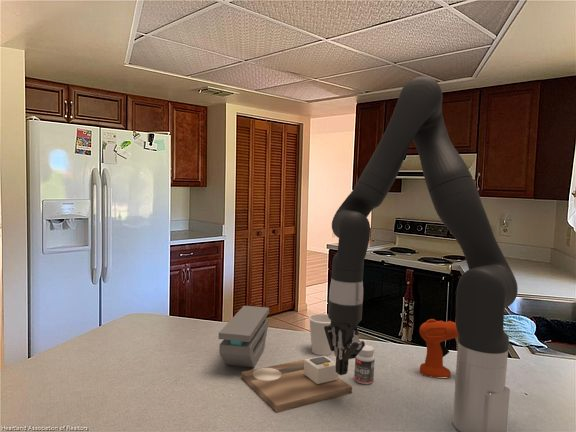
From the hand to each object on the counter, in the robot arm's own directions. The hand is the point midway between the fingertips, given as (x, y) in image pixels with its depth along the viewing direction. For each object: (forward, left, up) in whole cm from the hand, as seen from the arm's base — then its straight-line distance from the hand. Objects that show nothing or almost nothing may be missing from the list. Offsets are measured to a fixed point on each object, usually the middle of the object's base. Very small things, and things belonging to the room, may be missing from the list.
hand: (341, 373), depth 99 cm
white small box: (+7, 0, -4) cm, 8 cm away
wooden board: (+9, +6, -6) cm, 12 cm away
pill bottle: (+4, -11, -6) cm, 13 cm away
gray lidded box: (+29, +10, -6) cm, 32 cm away
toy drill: (-4, -34, -6) cm, 34 cm away
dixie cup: (+24, -12, -6) cm, 27 cm away
